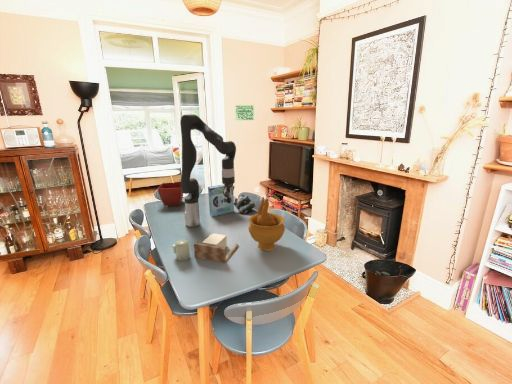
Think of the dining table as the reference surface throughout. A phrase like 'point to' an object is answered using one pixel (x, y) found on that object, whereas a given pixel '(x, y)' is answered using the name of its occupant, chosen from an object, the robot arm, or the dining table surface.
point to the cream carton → (216, 240)
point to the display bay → (212, 252)
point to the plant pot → (171, 193)
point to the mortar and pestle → (266, 227)
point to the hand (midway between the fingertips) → (229, 202)
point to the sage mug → (181, 250)
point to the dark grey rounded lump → (244, 204)
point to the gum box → (219, 201)
